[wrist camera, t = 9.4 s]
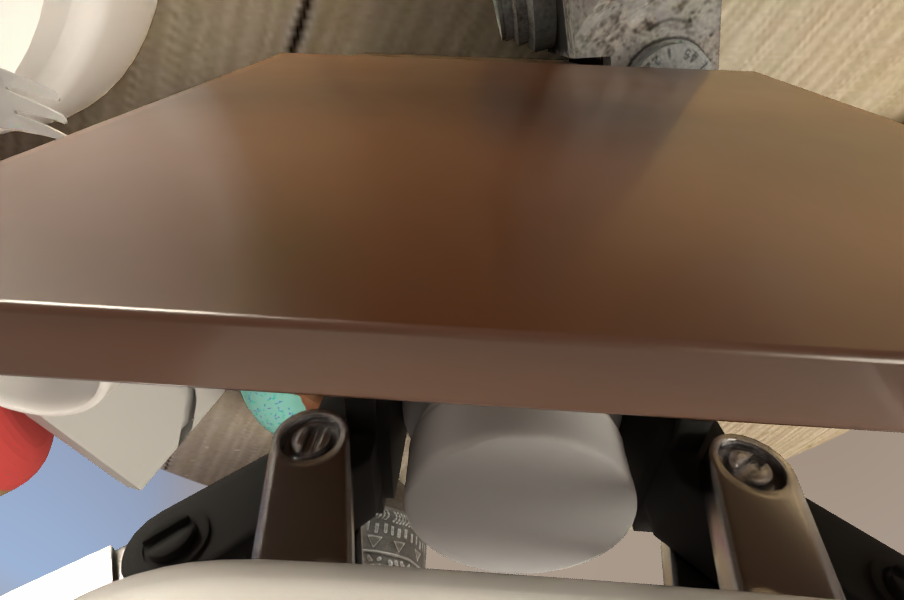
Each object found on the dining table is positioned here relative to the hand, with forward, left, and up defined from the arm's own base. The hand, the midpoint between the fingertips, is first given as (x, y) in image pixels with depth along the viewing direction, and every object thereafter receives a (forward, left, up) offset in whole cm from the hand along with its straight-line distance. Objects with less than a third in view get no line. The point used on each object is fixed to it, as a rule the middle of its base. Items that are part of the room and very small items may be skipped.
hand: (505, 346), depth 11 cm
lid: (-5, 0, +1) cm, 5 cm away
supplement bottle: (0, 0, -4) cm, 4 cm away
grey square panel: (+13, -22, -11) cm, 28 cm away
